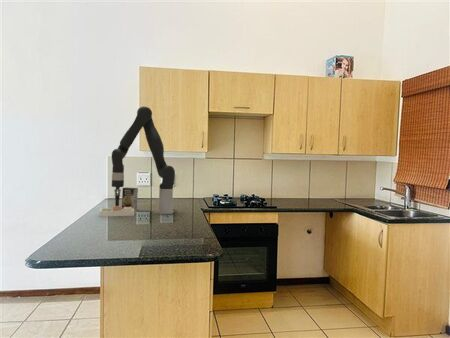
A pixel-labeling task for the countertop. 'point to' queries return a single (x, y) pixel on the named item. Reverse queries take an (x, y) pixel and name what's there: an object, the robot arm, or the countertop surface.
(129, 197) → the coffee box
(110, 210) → the sage key
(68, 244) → the countertop surface
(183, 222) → the countertop surface
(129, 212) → the cream flat tray
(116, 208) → the terracotta key
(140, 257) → the countertop surface
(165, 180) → the robot arm
